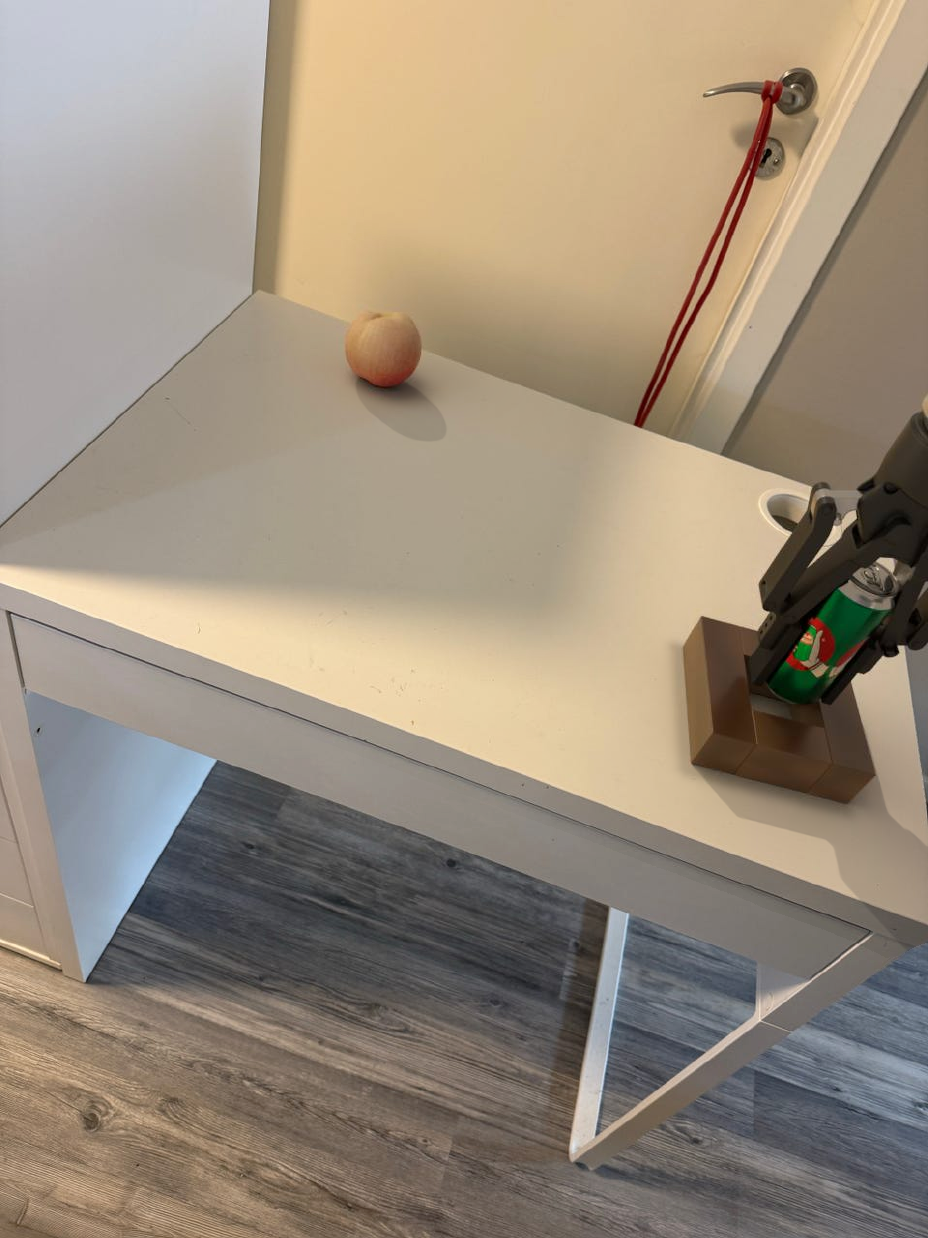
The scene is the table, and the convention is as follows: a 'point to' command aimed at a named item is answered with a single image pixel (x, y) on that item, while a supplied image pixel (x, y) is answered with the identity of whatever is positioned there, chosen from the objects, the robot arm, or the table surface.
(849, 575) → the robot arm
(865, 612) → the soda can
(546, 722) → the table surface
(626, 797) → the table surface
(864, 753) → the holder
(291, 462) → the table surface
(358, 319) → the fruit
